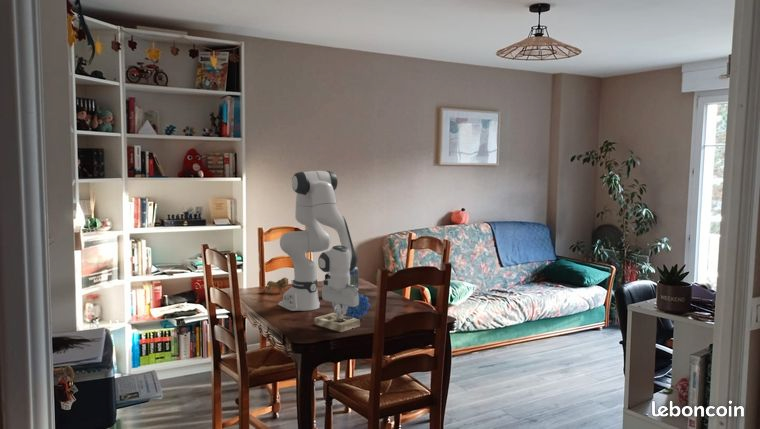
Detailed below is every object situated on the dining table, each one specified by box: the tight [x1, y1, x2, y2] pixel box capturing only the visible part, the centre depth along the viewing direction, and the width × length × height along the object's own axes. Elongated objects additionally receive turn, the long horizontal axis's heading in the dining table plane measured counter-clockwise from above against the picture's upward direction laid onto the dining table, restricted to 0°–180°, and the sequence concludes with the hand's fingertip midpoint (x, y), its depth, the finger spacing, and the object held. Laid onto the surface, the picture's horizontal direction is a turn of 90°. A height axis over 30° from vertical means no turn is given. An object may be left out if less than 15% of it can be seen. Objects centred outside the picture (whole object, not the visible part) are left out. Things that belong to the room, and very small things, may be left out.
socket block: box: [314, 312, 361, 333], centre depth 254 cm, size 17×12×3 cm
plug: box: [335, 303, 345, 323], centre depth 249 cm, size 3×3×10 cm
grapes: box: [345, 293, 371, 320], centre depth 264 cm, size 12×7×12 cm, turn 97°
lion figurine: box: [262, 277, 289, 295], centre depth 312 cm, size 15×5×9 cm, turn 84°
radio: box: [324, 266, 360, 293], centre depth 311 cm, size 23×9×15 cm, turn 128°
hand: (340, 313), depth 250 cm, fingers closed on plug, 3 cm apart
